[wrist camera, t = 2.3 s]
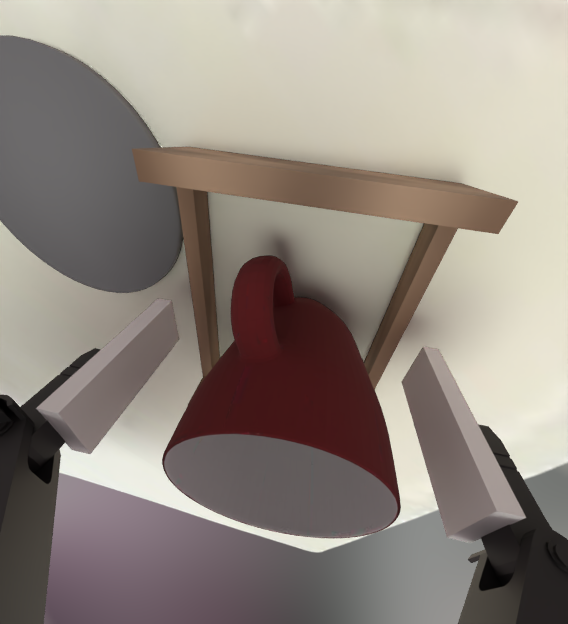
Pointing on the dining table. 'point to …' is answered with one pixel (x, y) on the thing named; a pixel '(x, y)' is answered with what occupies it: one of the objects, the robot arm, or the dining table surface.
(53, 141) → the coaster
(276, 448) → the mug
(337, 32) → the dining table surface
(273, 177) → the wooden tray frame
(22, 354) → the dining table surface
